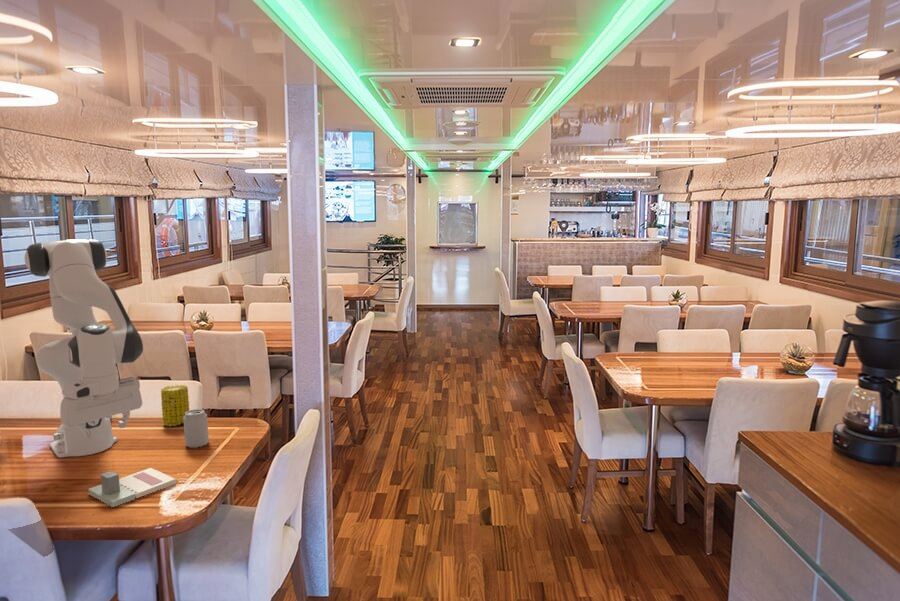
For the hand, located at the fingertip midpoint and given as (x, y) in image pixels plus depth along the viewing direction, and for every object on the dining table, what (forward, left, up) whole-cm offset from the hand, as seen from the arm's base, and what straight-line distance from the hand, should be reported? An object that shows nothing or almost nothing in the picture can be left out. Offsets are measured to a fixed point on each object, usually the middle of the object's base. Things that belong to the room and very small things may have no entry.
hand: (105, 432), depth 167 cm
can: (-16, +36, -19) cm, 44 cm away
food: (-43, +44, -19) cm, 65 cm away
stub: (0, 0, -19) cm, 19 cm away
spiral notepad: (0, +9, -19) cm, 21 cm away
